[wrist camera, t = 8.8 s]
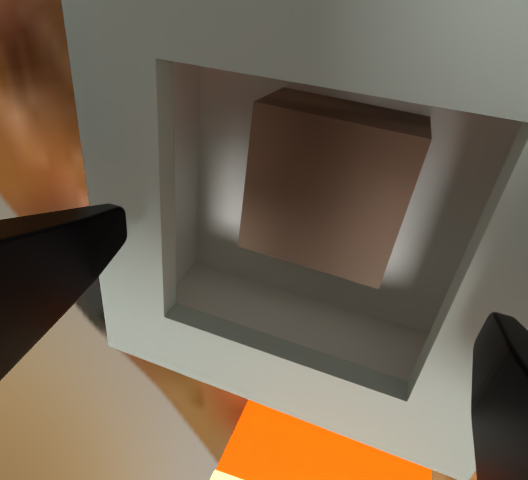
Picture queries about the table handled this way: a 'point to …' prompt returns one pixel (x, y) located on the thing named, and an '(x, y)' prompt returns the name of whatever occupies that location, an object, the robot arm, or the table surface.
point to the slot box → (286, 273)
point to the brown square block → (330, 181)
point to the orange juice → (303, 452)
